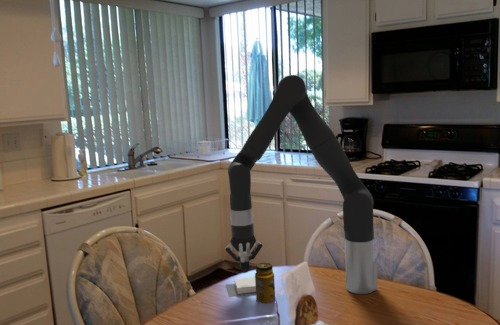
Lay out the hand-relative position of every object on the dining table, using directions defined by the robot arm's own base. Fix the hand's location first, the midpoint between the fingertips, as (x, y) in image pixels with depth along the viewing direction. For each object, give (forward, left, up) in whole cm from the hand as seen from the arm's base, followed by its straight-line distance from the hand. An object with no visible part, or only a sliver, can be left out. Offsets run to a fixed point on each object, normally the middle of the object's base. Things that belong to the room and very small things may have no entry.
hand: (245, 271), depth 155 cm
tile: (+3, 0, -5) cm, 6 cm away
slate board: (0, 0, -6) cm, 6 cm away
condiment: (-4, +10, -7) cm, 13 cm away
